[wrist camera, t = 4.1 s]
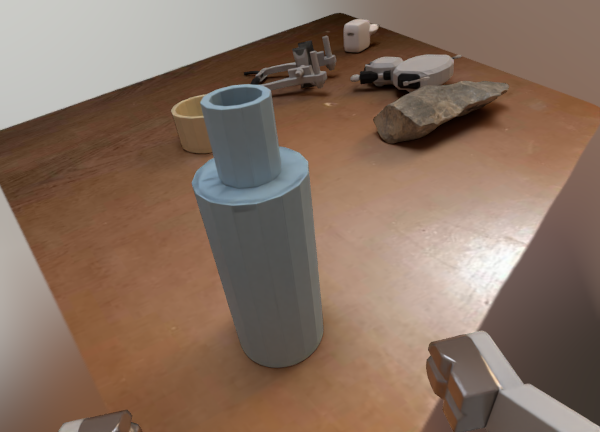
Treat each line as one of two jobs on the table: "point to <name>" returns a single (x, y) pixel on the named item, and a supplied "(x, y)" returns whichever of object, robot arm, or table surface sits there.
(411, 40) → the table surface
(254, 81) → the bike brake
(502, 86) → the stone tool
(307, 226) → the bottle
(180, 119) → the holder
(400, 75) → the robot toy
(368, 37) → the power adapter
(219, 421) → the table surface
